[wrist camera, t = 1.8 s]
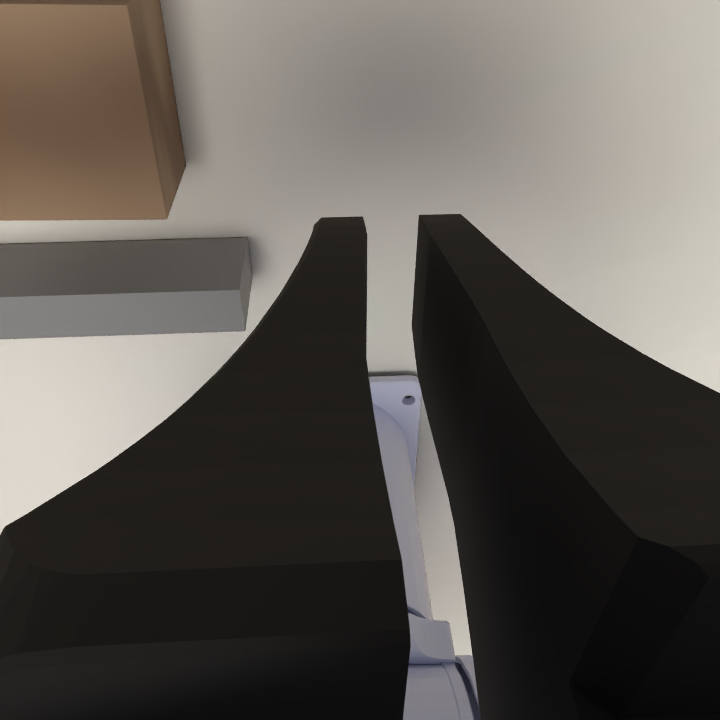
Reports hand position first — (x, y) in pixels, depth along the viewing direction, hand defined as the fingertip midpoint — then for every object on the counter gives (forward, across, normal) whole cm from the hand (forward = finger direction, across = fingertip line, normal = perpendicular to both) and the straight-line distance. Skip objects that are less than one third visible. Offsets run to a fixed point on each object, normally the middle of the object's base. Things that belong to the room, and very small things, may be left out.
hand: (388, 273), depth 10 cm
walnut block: (+11, +8, 0) cm, 13 cm away
